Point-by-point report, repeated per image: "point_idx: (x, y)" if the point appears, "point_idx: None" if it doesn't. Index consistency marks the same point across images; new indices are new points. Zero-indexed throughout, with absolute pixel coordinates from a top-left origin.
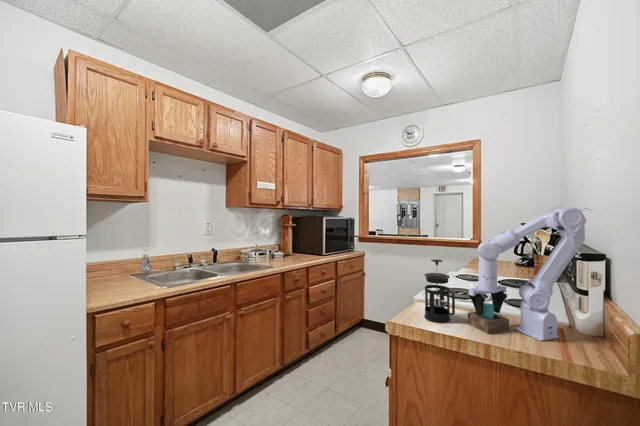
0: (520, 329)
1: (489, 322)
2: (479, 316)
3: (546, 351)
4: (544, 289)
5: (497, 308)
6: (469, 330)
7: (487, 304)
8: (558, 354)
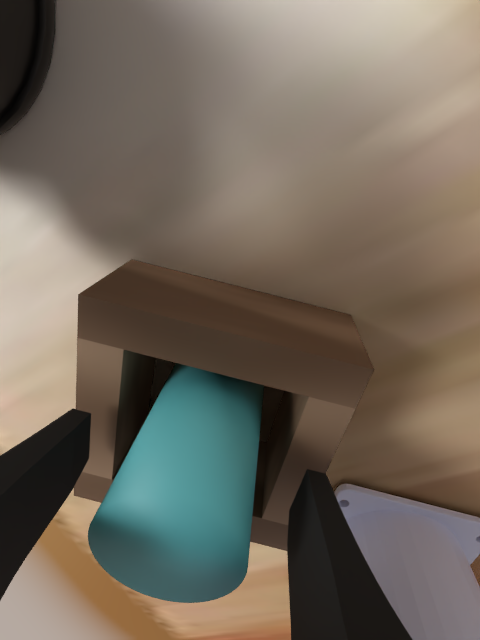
0: (345, 516)
1: (91, 496)
2: (112, 410)
3: (205, 606)
4: None
5: (294, 555)
6: (42, 340)
7: (180, 552)
8: (221, 629)
